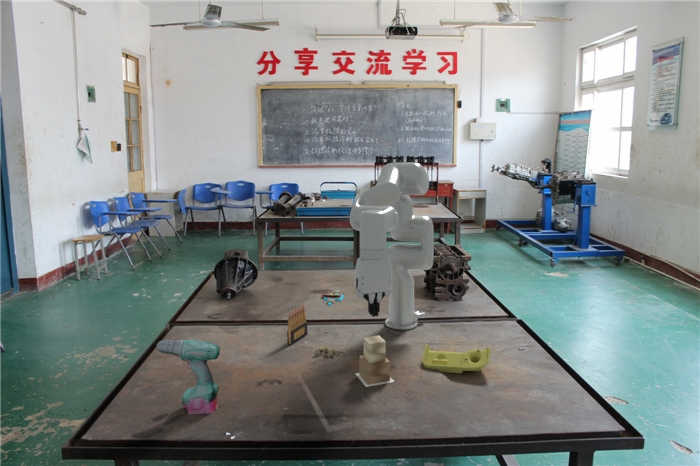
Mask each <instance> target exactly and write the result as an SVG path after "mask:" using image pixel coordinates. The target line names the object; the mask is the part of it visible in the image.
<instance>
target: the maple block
mask: <svg viewBox="0 0 700 466" xmlns="http://www.w3.org/2000/svg"><path fill="white" fill-rule="evenodd" d="M386 345H387V341H386V340H385V339H384V338H382V337H381V336H380V334H379V335H372V336H366V337H363V355H364V358H365V359H366V360H367V361H368V362H369V363H375V362H381V361H386V358H387V357H386V355H387V353H386V351H387V350H386V349H387V348H386V347H387V346H386Z"/></svg>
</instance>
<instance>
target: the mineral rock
mask: <svg viewBox="0 0 700 466" xmlns="http://www.w3.org/2000/svg"><path fill="white" fill-rule="evenodd" d="M344 357H346V354H345V352H344V351H341V350H338V349H332V348H331V347H329V346H325V347H324V348H318V349H315V350H314V358H316V359H317V358H324V359H327V360H328V359H338V358H344Z"/></svg>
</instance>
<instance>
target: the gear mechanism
mask: <svg viewBox="0 0 700 466" xmlns="http://www.w3.org/2000/svg"><path fill="white" fill-rule="evenodd" d="M335 289H336V290H333V293H329V294H322V295H321V298H323V300H324V301H326V302H327V303H326V304H327V306H331V305H332V304H335V301H338V302H339V301H342V300H343V298H344V296H345V295H344V294H341V290H339V289H338V287H336V288H335Z"/></svg>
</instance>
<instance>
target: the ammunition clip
mask: <svg viewBox="0 0 700 466" xmlns="http://www.w3.org/2000/svg"><path fill="white" fill-rule="evenodd" d="M306 317H307V315H306V307H305V304H303V303H302V305H300V306H299V307H296V308H294V310H293V309H292V310H291V311H289V312H288V318H287V319H288V320H287V331H286V334H287V335H286V336H287V345H290V346H293V345H295V344H296V343H297V342H299V341H301V340H303V338H305V337H306V335H307V336H308V322H307V318H306Z"/></svg>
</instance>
